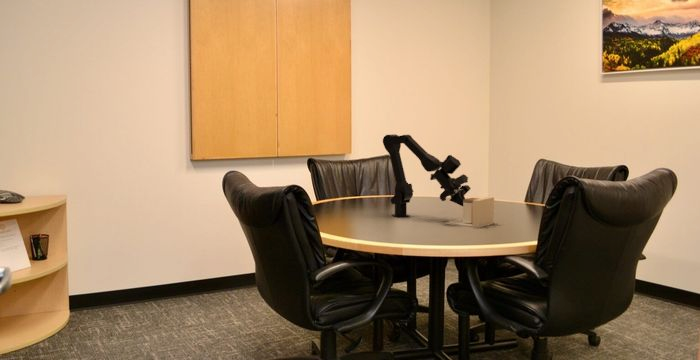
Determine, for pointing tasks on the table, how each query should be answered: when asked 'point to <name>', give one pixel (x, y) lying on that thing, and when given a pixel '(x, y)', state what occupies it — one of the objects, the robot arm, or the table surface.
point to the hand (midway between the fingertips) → (467, 207)
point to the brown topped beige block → (468, 210)
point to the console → (479, 213)
